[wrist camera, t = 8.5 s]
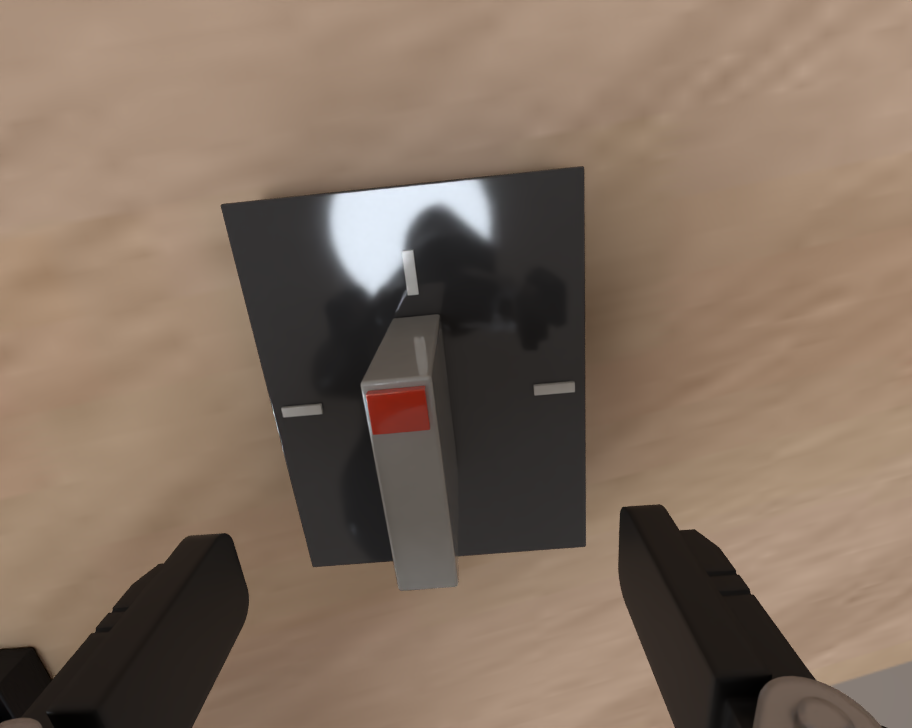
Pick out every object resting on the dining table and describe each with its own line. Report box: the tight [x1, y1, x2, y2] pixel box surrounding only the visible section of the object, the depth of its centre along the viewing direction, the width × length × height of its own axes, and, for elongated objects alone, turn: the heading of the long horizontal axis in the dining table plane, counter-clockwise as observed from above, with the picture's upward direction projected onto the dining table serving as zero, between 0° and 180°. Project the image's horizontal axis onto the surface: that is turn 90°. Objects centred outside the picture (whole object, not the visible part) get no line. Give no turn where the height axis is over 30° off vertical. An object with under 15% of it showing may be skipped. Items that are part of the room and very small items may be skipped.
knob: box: [360, 314, 458, 591], centre depth 14 cm, size 6×2×6 cm, turn 6°
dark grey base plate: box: [221, 166, 586, 567], centre depth 18 cm, size 14×11×3 cm
